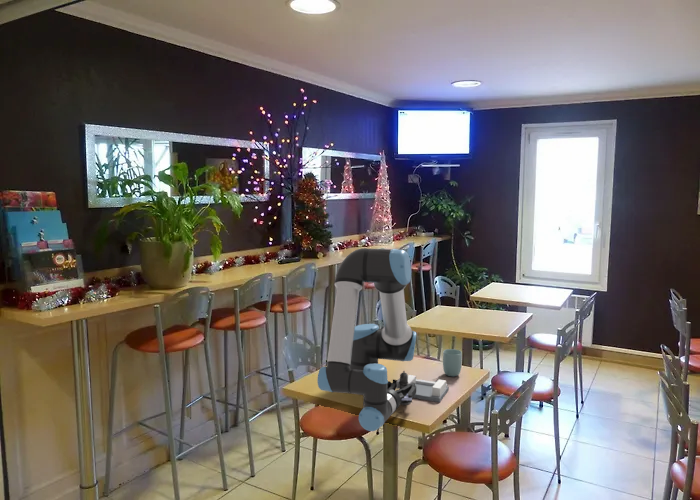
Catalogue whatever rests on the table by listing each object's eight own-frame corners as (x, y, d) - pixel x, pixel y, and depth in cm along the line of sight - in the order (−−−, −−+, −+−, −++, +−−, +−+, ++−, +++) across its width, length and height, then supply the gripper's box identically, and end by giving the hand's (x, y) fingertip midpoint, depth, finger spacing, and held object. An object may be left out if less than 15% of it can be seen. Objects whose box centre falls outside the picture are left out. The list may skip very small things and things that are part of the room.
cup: (461, 378, 216) (462, 355, 215) (442, 377, 217) (442, 353, 216) (461, 372, 223) (462, 349, 222) (442, 371, 225) (443, 348, 224)
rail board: (398, 395, 198) (398, 383, 198) (409, 383, 210) (409, 372, 209) (439, 402, 192) (440, 390, 191) (448, 390, 203) (448, 379, 203)
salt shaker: (414, 402, 192) (415, 370, 190) (405, 407, 187) (405, 374, 186) (401, 397, 196) (402, 366, 194) (392, 402, 191) (392, 370, 190)
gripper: (363, 409, 178) (387, 386, 200) (409, 418, 172) (430, 393, 193) (363, 388, 178) (387, 367, 199) (410, 396, 171) (430, 373, 192)
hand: (408, 380), depth 196 cm, fingers closed on salt shaker, 3 cm apart
